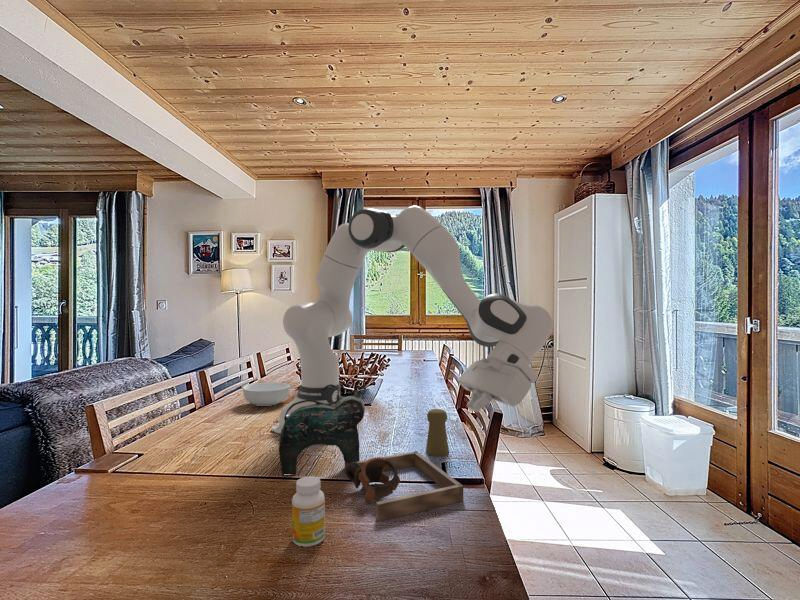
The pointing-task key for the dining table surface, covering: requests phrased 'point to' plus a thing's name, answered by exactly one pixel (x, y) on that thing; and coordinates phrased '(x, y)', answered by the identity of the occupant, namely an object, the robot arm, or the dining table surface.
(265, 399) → the cereal bowl
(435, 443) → the cork
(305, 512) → the supplement bottle
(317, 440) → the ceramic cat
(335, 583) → the dining table surface
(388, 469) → the wooden open frame
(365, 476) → the pottery mug
